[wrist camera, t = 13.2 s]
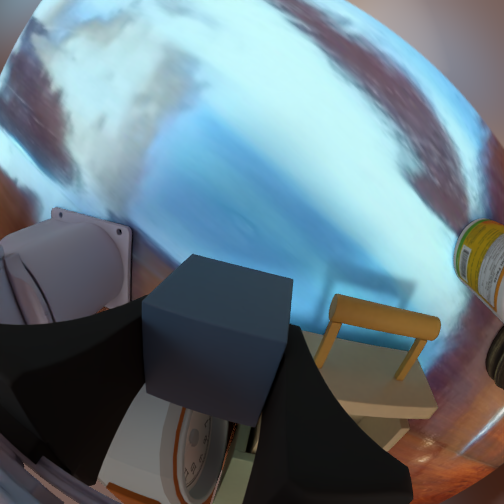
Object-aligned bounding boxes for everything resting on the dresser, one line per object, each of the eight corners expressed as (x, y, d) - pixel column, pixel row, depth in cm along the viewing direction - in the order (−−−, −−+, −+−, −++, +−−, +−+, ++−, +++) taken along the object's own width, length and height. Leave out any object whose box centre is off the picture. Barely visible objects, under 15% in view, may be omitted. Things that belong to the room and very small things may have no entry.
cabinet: (251, 383, 23) (232, 457, 15) (377, 405, 22) (389, 473, 14) (227, 453, 28) (212, 504, 21) (322, 469, 27) (319, 520, 19)
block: (184, 333, 12) (145, 393, 8) (192, 253, 11) (141, 301, 7) (269, 357, 12) (255, 428, 8) (293, 278, 10) (287, 343, 7)
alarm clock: (237, 435, 26) (207, 537, 14) (167, 422, 28) (123, 510, 15) (221, 331, 22) (151, 479, 9) (131, 321, 23) (38, 424, 10)
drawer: (298, 261, 18) (296, 311, 12) (442, 298, 17) (481, 348, 11) (243, 426, 24) (230, 476, 18) (347, 443, 23) (350, 491, 17)
